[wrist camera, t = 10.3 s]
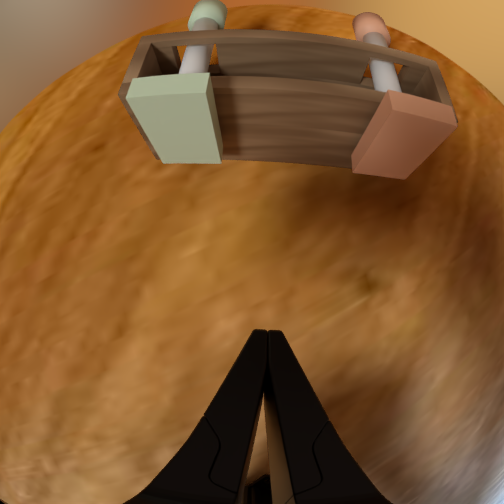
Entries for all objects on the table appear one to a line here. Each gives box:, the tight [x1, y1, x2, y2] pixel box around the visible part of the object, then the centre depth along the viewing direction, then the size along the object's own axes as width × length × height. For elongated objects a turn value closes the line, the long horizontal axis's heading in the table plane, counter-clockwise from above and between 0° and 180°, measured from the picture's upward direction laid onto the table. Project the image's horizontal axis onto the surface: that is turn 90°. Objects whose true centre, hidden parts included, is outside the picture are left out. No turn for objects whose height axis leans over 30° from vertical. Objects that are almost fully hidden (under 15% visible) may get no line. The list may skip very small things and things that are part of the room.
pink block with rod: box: [351, 12, 458, 180], centre depth 19 cm, size 14×4×8 cm, turn 177°
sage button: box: [126, 0, 227, 164], centre depth 19 cm, size 14×4×8 cm, turn 177°
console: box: [118, 29, 458, 169], centre depth 21 cm, size 6×22×9 cm, turn 87°
